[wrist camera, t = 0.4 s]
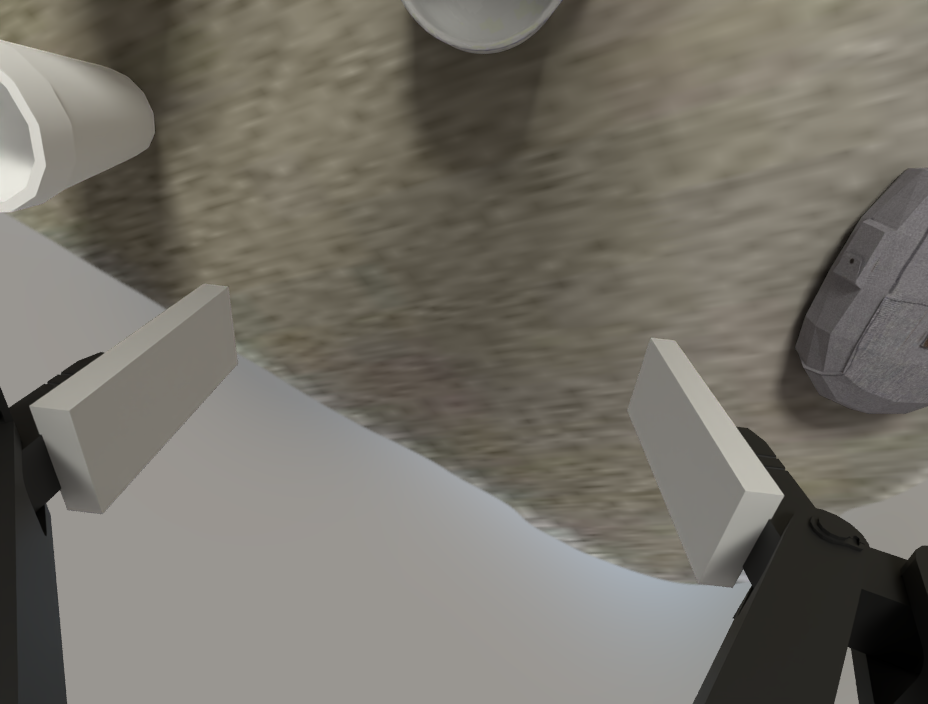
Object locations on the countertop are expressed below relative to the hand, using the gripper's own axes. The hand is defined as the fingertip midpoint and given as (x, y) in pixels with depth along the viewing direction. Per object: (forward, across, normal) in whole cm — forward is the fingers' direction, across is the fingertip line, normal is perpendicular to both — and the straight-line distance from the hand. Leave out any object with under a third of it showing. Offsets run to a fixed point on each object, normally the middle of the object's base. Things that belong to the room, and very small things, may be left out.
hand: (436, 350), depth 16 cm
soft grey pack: (+28, +36, -4) cm, 46 cm away
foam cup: (+28, -28, +2) cm, 39 cm away
